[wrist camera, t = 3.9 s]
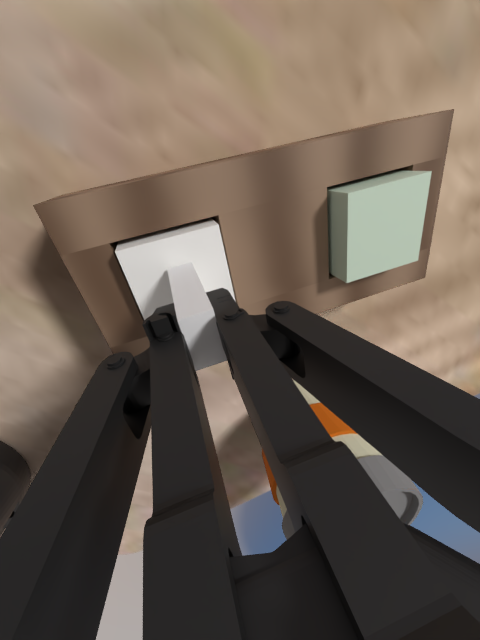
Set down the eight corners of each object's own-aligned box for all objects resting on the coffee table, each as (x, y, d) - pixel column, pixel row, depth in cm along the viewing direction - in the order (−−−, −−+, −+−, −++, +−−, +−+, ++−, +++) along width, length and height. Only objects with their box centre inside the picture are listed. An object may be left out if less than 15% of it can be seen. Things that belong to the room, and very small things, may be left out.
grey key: (151, 306, 23) (152, 338, 19) (121, 233, 20) (114, 251, 16) (221, 285, 24) (237, 311, 20) (203, 212, 21) (218, 224, 16)
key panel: (129, 335, 26) (125, 376, 21) (62, 194, 19) (33, 205, 14) (377, 258, 30) (425, 277, 25) (387, 121, 23) (454, 109, 18)
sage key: (311, 262, 24) (346, 283, 20) (307, 187, 21) (348, 193, 17) (372, 244, 25) (418, 260, 21) (377, 170, 22) (431, 171, 18)
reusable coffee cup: (228, 396, 33) (281, 540, 20) (324, 352, 34) (430, 462, 21) (256, 454, 39) (309, 590, 27) (335, 415, 41) (421, 529, 28)
